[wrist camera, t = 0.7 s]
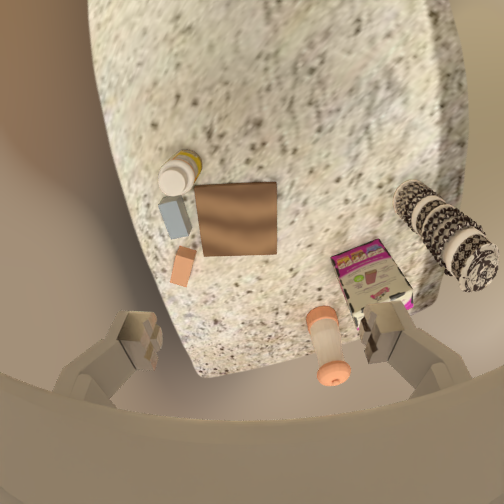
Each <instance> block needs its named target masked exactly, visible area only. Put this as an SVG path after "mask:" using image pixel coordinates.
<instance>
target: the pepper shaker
mask: <svg viewBox="0 0 504 504" xmlns="http://www.w3.org/2000/svg"><path fill="white" fill-rule="evenodd" d="M306 321H307V326H308V331H309V333H310V334H311V340H312V344H313V347H314V349H315V352H316V354H317V358H318V364H319V370H318V372H317V378H318V380H319V382H320V383H321V384H323V385H325V386H336V385H338V384H341V383H343V382H345V381H346V380H347V379H348V378H349V376H350V373H351V368H350V366H349V365H348V364H347V363H346V362H345V360H344V357H343V352H342V345H341V334H340V331H339V328H338V325H339V322H338V319H337V316H336V312H335V310H334V309H333V308H331V307H328V306H321V307H317V308H314V309H313V310H311V311H310V312H309V313H308V315H307V317H306Z"/></svg>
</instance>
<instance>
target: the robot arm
mask: <svg viewBox="0 0 504 504" xmlns="http://www.w3.org/2000/svg"><path fill="white" fill-rule="evenodd" d="M363 313H364V317H363V318H362V319H361V320H360V325H359V335H360V340H361V342H362V343H363V344H365V345H366V348H365V350H364V352H365V355H366V358H367V361H368V364H372V363H380V362H386V361H388V363H389V364H390V365H391V366H392V367H393V368H394V369H395V370H396V371H397V372H398V373H399V374H400V375H401V376H402V377H403V378H404V379H405V380H406V381H407V382H408V383H410V385H412V386H413V387H414V388H415V391H414V392H413V393H412V395H411V396H410V398H409V399H408V400H405V401H401V402H397V403H393V404H388V405H384V406H379V407H375V408H370V409H364V410H359V411H353V412H347V413H340V414H334V415H326V416H317V417H308V418H296V419H282V420H260V421H259V420H255V421H230V420H204V419H190V418H178V417H169V416H160V415H153V414H145V413H139V412H133V411H127V410H122V409H117V408H116V406H115V405H114V404H113V403H112V401H111V400H110V398H111V397H112V396H113V395H114V394H115V392H116V391H117V390H118V389H119V388H120V387H121V386H122V385H123V384H124V383H125V382H126V381H127V380H128V379H129V378H130V377H131V375H132V374H133V373H134V372H135V371H136V370H147V371H148V370H149V371H155V368H156V364H157V361H158V356H157V354H156V353H157V352H158V351H159V350H161V347H162V341H163V335H162V331H161V328H160V327H159V326H158V325H157V324H156V321H157V318H156V315H155V313H153V312H140V311H121V310H120V311H119V312H118V313H117V314H116V316H115V318H114V321H113V322H112V325H111V327H110V329H109V331H108V333H107V336H106V337H105V339H101V340H100V341H98V342H97V343H96V344H94V345H93V346H92V347H90V348H89V349H88V350H86V351H85V352H84V353H82V354H81V355H80V356H79V357H77V358H76V359H74V360H73V361H72V362H70V363H69V364H68V365H66V366H65V367H64V368H63V369H62V371H61V373H60V375H59V377H58V379H57V381H56V384H55V386H54V388H53V390H52V392H51V391H48V390H45V389H42V388H39V387H36V386H33V385H31V384H28V383H26V382H23V381H20V380H18V379H15V378H13V377H11V376H8V375H6V374H4V373H1V372H0V504H504V365H503V366H500V367H499V368H496V369H494V370H492V371H490V372H487V373H485V374H482V375H480V376H478V377H475V378H473V379H472V377H471V375H470V373H469V371H468V369H467V367H466V365H465V363H464V361H463V359H462V357H461V356H460V355H459V354H457V353H456V352H455V351H453V350H452V349H450V348H449V347H447V346H446V345H444V344H443V343H441V342H440V341H438V340H437V339H435V338H434V337H432V336H431V335H429V334H428V333H426V332H425V331H423V330H422V329H420V328H416V326H415V325H414V323H413V321H412V319H411V317H410V315H409V313H408V311H407V310H406V308H405V306H404V304H403V303H402V301H400V300H397V301H390V302H382V303H373V304H366V305H365V307H364V310H363Z"/></svg>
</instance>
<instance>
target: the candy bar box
mask: <svg viewBox="0 0 504 504" xmlns="http://www.w3.org/2000/svg"><path fill="white" fill-rule="evenodd" d="M331 261H332V264H333V267H334V270H335V273H336V276H337V279H338V281H339V284H340V286H341V289H342V291H343V294H344V297H345V299H346V302H347V304H348V307H349V310H350V312H351V315H352V318H353V321H354V323H355V326H356V329H357V330H359V325H360V320H361V319H362V318H363V317H364V313H363V310H364V307H365V305H366V304H373V303H382V302H390V301H397V300H400V301H402V303H403V304H404V306H405V308H406V310H409V309H411V308H413V289H412V287H411V285H410V284H409V282H408V281H407V279H406V278H405V276H404V275H403V273H402V272H401V270H400V269H399V267H398V266H397V264H396V263H395V261H394V260H393V258H392V257H391V255H390V254H389V252H388V251H387V250H386V248H385V247H384V245H383V244H382V242H381V241H380V240H379V239H377V240H374V241H371V242H369V243H367V244H364V245H362V246H359V247H357V248H354V249H352V250H349V251H346V252H344V253H341V254H339V255H336V256H333V257H331Z"/></svg>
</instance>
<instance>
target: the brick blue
mask: <svg viewBox="0 0 504 504" xmlns="http://www.w3.org/2000/svg"><path fill="white" fill-rule="evenodd" d="M158 207H159V209H160V212H161V215H162V217H163V220H164V223H165V225H166V228H167V231H168V233H169V236H170V238H171V239H176V238H181V237H186V236H189V234H190V231H191V229H192V225H191V223H190V220H189V217H188V214H187V211H186V208H185V205H184V202H183V198H182V195H178V196H168V197H165V198H163V199H162V200H161V202H160V203H159V204H158Z"/></svg>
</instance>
